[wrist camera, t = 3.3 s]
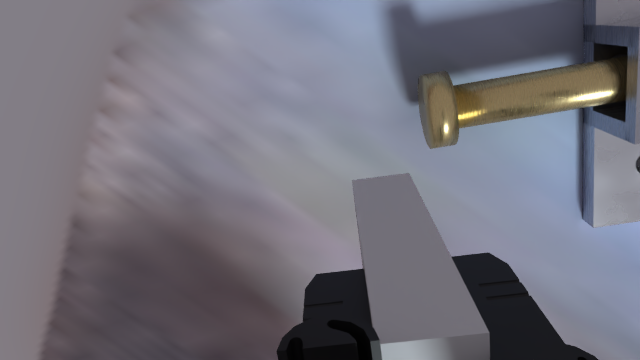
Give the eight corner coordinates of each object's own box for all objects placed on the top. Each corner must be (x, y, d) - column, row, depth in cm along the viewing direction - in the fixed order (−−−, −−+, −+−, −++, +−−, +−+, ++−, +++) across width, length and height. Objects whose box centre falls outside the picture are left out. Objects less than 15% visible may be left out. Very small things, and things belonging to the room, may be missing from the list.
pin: (422, 138, 27) (436, 157, 23) (415, 71, 26) (429, 80, 22) (750, 84, 26) (818, 95, 22) (758, 10, 25) (832, 10, 21)
